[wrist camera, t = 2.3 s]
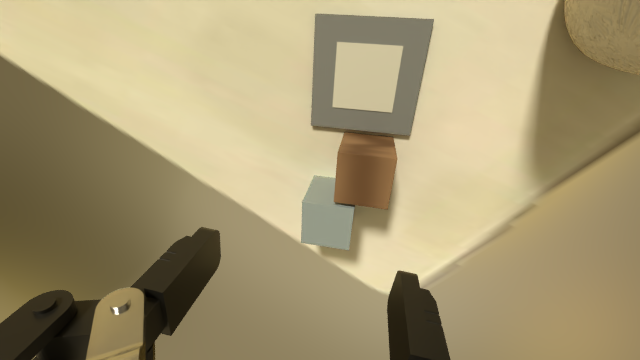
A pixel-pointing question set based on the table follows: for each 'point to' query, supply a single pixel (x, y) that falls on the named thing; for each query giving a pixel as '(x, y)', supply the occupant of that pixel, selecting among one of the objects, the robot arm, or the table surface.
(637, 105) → the table surface
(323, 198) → the blue grey block
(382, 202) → the walnut block
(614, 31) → the planter
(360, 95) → the pad
